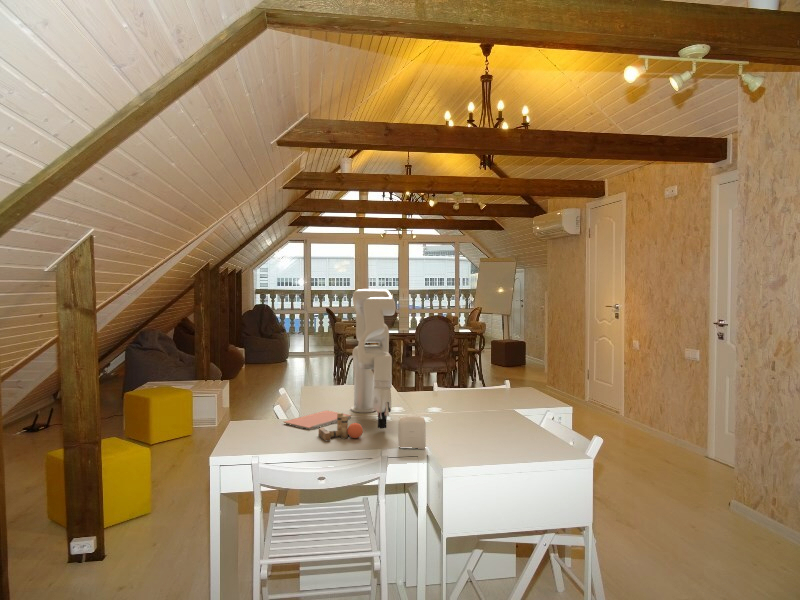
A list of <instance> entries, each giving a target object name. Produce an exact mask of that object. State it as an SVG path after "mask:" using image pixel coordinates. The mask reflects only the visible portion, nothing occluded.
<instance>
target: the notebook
mask: <svg viewBox="0 0 800 600" xmlns="http://www.w3.org/2000/svg"><path fill="white" fill-rule="evenodd" d="M338 413H339V411H338V412H337V411H332V410H327V409H326V410H323V411H318V412H314V413H311V414H307V415H304V416H298V417H296V418H293V419H287V420H285V421H283V424H284V423H286V424H291V425H294V426H297V427H296V428H299V427H302V428H301V429H303V428H306V429H305V430H307V429H311V430H313V429H312V428H315V429H319V427H320V426H321V427H324V426H325V427H326V425H327V424H328V425H334V424H333V423H335V424H337V414H338ZM343 416H348V420H350V419H351V418H352V417H353V416H352V414H347V413H343ZM330 423H332V424H330ZM286 424H285V425H286ZM323 425H324V426H323ZM294 426H293V427H294ZM316 427H317V428H316ZM321 427H320V428H321Z"/></svg>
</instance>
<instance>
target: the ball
mask: <svg viewBox="0 0 800 600" xmlns="http://www.w3.org/2000/svg"><path fill="white" fill-rule="evenodd" d="M363 432H364V430H363V426H362V425H361V424H360V423H357V422H353V423H350V424H349V425H348V434H349V437H350V438H352V439H359V438H360V437H361V436H362V434H363Z"/></svg>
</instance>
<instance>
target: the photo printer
mask: <svg viewBox="0 0 800 600" xmlns="http://www.w3.org/2000/svg"><path fill="white" fill-rule="evenodd" d="M426 425H427V424H426V420H425V417H424V416H421V415H418V414H416V415H415V414H407V415H403V416H400V417H399V420H398V426H397V427H398V428H397V431H398V432H397V433H398V435H397V436H398V440H397V443H398V444H397V445H398V446H400V447H412V448H418V449H417V450H424V449H426V448H425V447H426V446H427V445H426V440H427V439H426V437H427V435H426V434H427V433H426V432H427V431H426V430H427V429H426V427H427V426H426Z"/></svg>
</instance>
